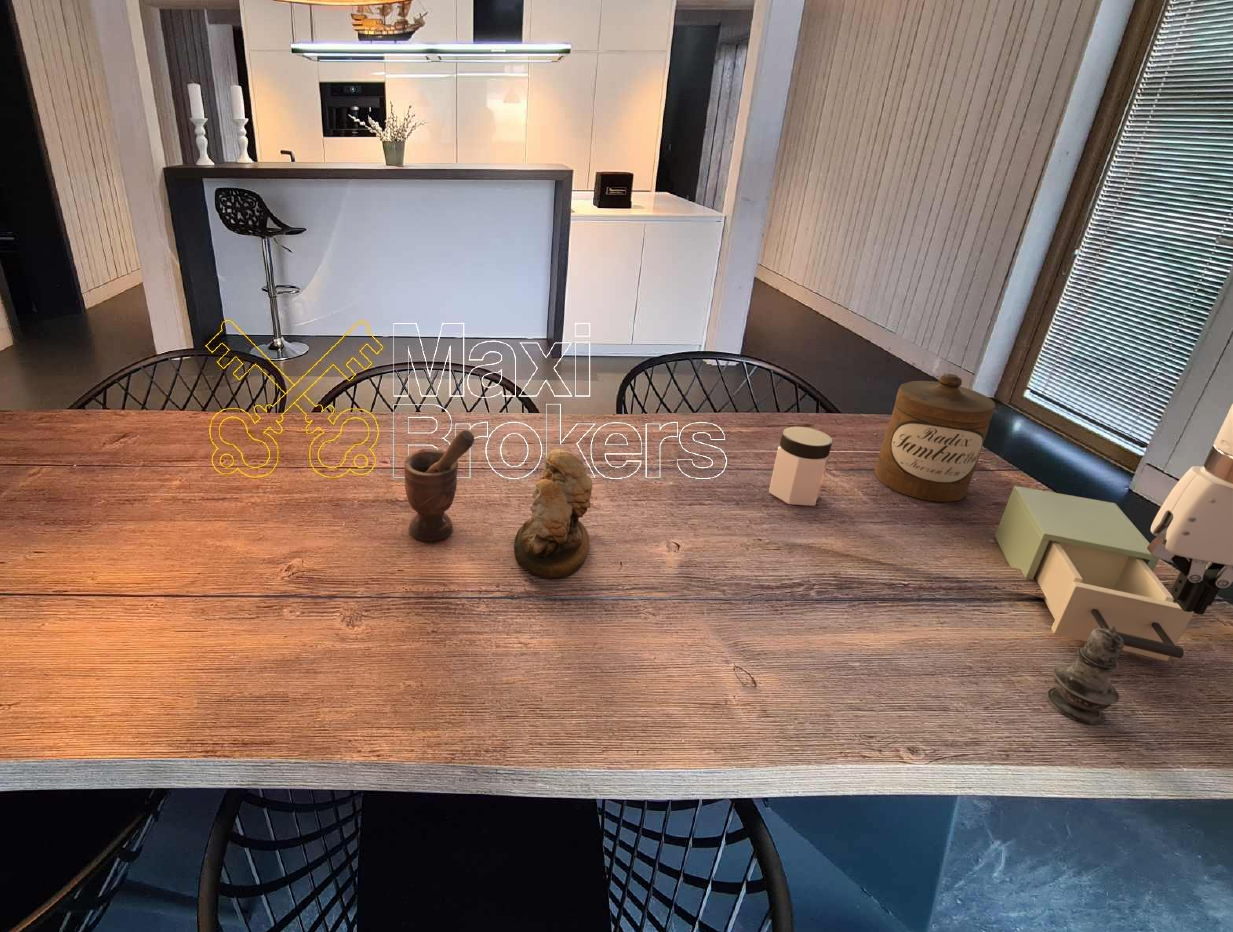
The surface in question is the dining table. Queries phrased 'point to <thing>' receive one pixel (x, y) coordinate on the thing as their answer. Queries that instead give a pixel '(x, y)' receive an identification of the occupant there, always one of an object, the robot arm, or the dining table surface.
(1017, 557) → the cabinet
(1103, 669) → the chess piece
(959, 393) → the wooden container
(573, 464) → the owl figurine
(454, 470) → the mortar and pestle
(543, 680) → the dining table surface
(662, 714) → the dining table surface
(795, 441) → the jar
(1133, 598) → the drawer
